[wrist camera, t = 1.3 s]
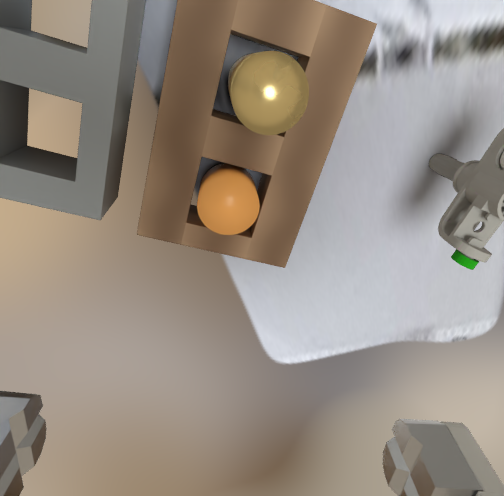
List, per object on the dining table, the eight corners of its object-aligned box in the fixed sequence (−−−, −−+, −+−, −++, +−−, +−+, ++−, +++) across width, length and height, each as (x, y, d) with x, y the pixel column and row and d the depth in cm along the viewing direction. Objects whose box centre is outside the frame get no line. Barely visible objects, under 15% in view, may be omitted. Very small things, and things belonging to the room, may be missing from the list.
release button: (194, 209, 30) (191, 227, 27) (206, 156, 28) (205, 169, 25) (246, 222, 31) (249, 240, 28) (262, 171, 29) (267, 185, 26)
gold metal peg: (221, 102, 28) (222, 123, 20) (235, 45, 27) (243, 39, 18) (271, 118, 29) (294, 144, 20) (288, 63, 28) (320, 65, 19)
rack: (-1, 168, 29) (-40, 188, 25) (0, -124, 22) (-56, -170, 17) (117, 197, 31) (100, 220, 27) (155, -66, 24) (140, -94, 19)
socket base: (145, 215, 32) (136, 234, 28) (191, -33, 25) (186, -48, 21) (278, 246, 34) (284, 267, 31) (356, 28, 27) (377, 23, 23)
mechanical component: (391, 208, 33) (453, 263, 25) (460, 95, 29) (564, 111, 21) (418, 220, 34) (487, 277, 25) (489, 110, 30) (602, 131, 21)
